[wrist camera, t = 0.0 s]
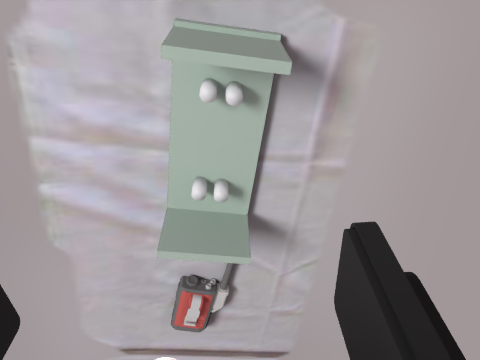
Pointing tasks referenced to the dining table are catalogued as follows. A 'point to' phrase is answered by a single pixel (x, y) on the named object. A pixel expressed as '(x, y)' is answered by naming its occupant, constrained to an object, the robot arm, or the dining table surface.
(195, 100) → the shelf rack
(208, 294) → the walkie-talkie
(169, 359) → the champagne flute
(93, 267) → the dining table surface
